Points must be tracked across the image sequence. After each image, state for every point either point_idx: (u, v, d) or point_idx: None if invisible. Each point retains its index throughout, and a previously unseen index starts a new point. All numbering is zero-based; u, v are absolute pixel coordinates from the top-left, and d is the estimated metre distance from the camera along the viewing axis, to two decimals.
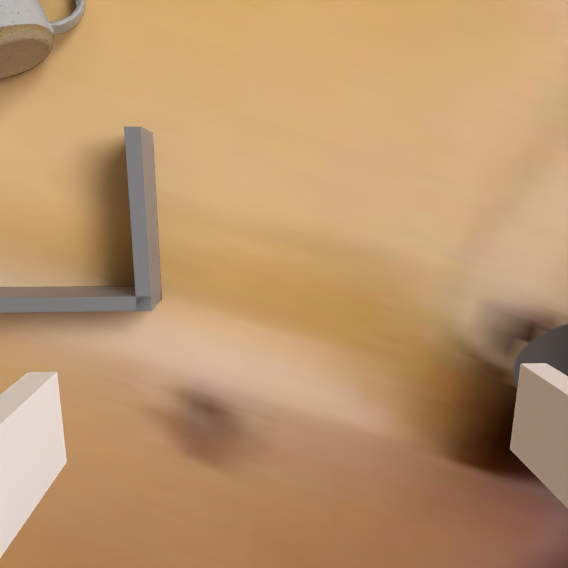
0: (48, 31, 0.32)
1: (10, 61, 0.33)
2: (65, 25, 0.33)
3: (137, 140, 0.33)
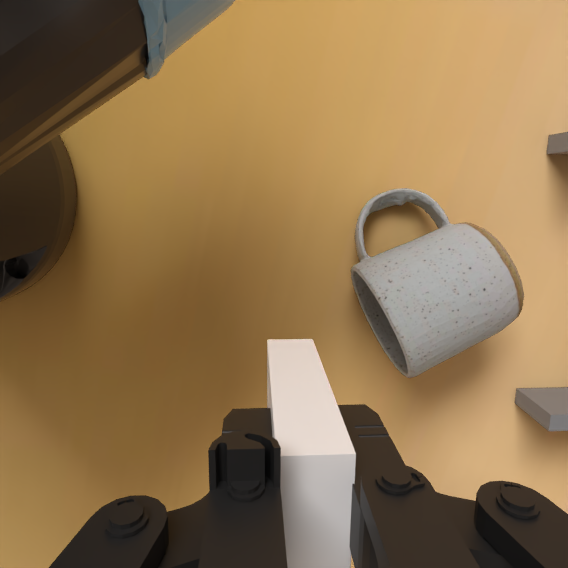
0: (466, 223, 0.27)
1: None
2: None
3: None
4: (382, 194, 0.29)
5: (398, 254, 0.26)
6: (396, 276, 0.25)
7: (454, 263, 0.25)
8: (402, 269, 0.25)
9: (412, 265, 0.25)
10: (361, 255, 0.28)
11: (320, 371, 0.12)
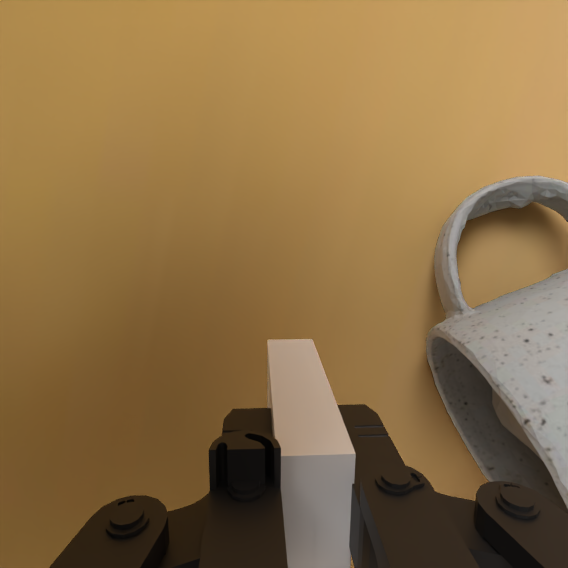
0: None
1: None
2: None
3: None
4: (492, 187, 0.15)
5: (546, 312, 0.12)
6: (559, 369, 0.11)
7: None
8: None
9: None
10: (454, 306, 0.14)
11: (320, 371, 0.12)
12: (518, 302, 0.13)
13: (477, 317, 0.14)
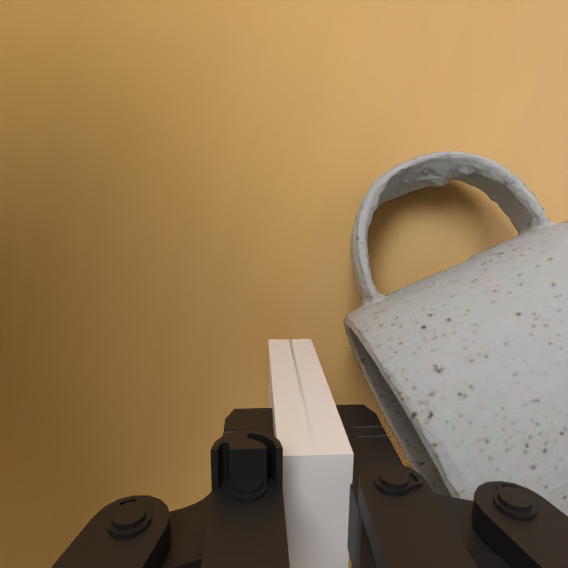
0: None
1: None
2: None
3: None
4: (405, 164, 0.14)
5: (449, 296, 0.12)
6: (452, 356, 0.10)
7: None
8: (466, 339, 0.10)
9: (489, 327, 0.10)
10: (365, 293, 0.13)
11: (318, 371, 0.12)
12: (426, 286, 0.12)
13: (384, 304, 0.13)
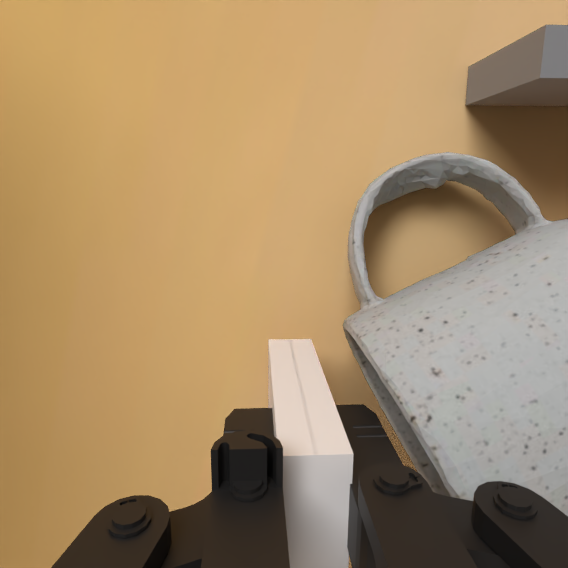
0: None
1: None
2: None
3: None
4: (399, 167, 0.14)
5: (446, 298, 0.12)
6: (449, 359, 0.10)
7: None
8: (463, 341, 0.10)
9: (486, 328, 0.10)
10: (362, 296, 0.13)
11: (318, 371, 0.12)
12: (423, 288, 0.13)
13: (381, 307, 0.13)
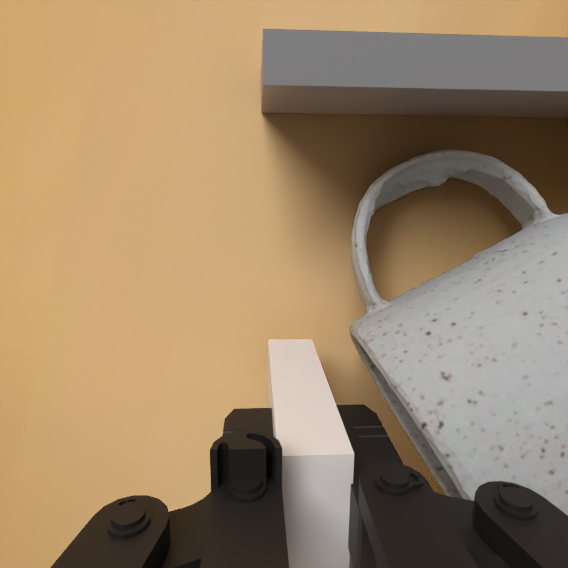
0: None
1: None
2: None
3: (305, 43, 0.10)
4: (399, 167, 0.14)
5: (453, 299, 0.11)
6: (459, 362, 0.10)
7: None
8: (472, 342, 0.10)
9: (495, 329, 0.10)
10: (368, 300, 0.13)
11: (319, 371, 0.12)
12: (429, 290, 0.12)
13: (387, 310, 0.12)
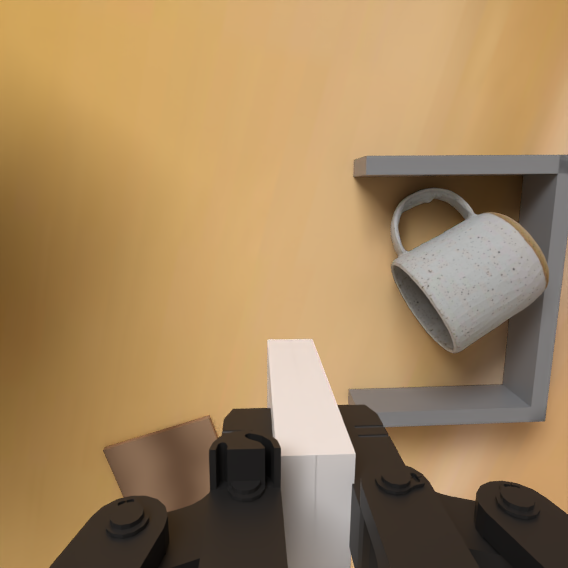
0: (489, 212, 0.31)
1: None
2: None
3: (381, 160, 0.29)
4: (411, 195, 0.32)
5: (433, 247, 0.30)
6: (435, 266, 0.29)
7: (484, 249, 0.28)
8: (439, 260, 0.29)
9: (447, 255, 0.29)
10: (399, 251, 0.32)
11: (320, 371, 0.12)
12: (424, 245, 0.31)
13: (408, 253, 0.31)
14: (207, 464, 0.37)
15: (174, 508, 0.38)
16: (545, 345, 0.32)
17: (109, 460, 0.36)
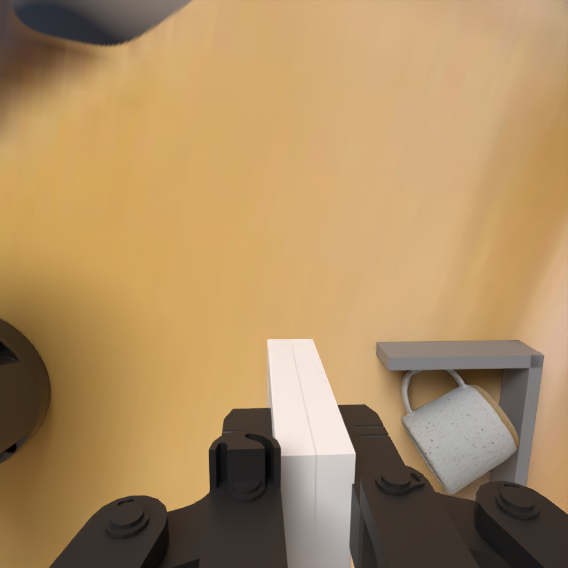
0: (476, 388, 0.41)
1: None
2: (459, 376, 0.42)
3: (399, 360, 0.39)
4: None
5: (434, 416, 0.40)
6: (435, 436, 0.39)
7: (471, 426, 0.38)
8: (438, 431, 0.39)
9: (444, 427, 0.39)
10: (408, 411, 0.42)
11: (320, 371, 0.12)
12: (427, 411, 0.41)
13: (414, 416, 0.41)
14: None
15: None
16: None
17: None
